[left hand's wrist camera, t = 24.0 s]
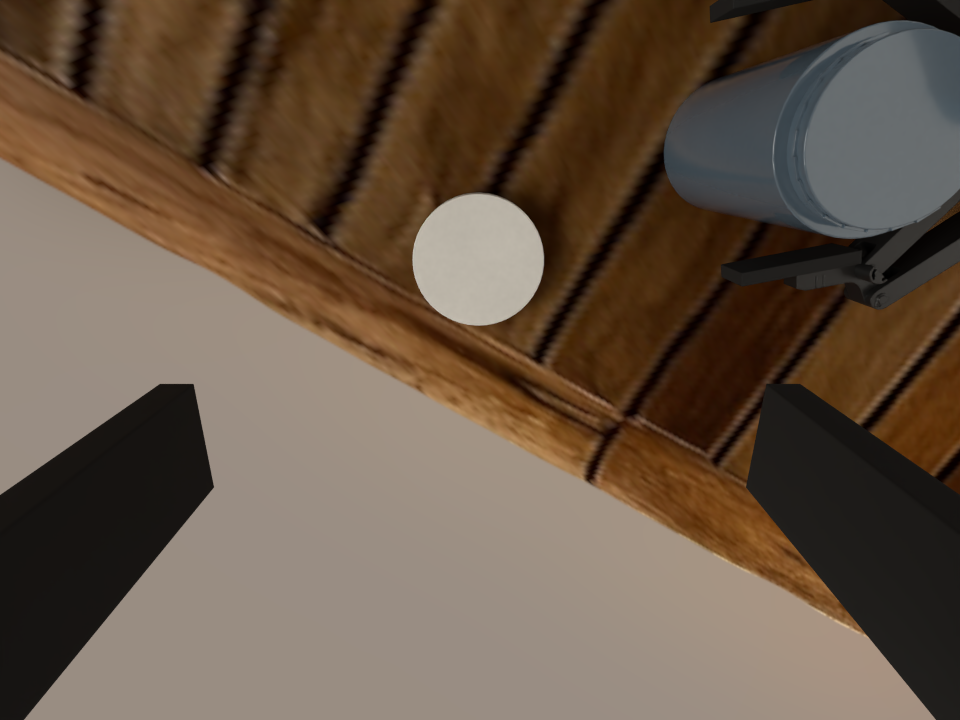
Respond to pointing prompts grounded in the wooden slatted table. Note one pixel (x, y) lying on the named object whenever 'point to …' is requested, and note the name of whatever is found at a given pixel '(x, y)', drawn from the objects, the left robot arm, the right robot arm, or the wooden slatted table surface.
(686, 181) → the jar
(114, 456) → the left robot arm
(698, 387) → the wooden slatted table surface
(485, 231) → the lid
